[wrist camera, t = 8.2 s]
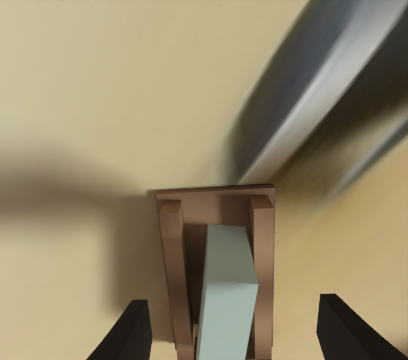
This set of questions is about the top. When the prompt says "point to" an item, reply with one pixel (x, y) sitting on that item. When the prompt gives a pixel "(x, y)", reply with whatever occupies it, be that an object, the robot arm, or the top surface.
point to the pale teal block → (226, 295)
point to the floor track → (195, 252)
